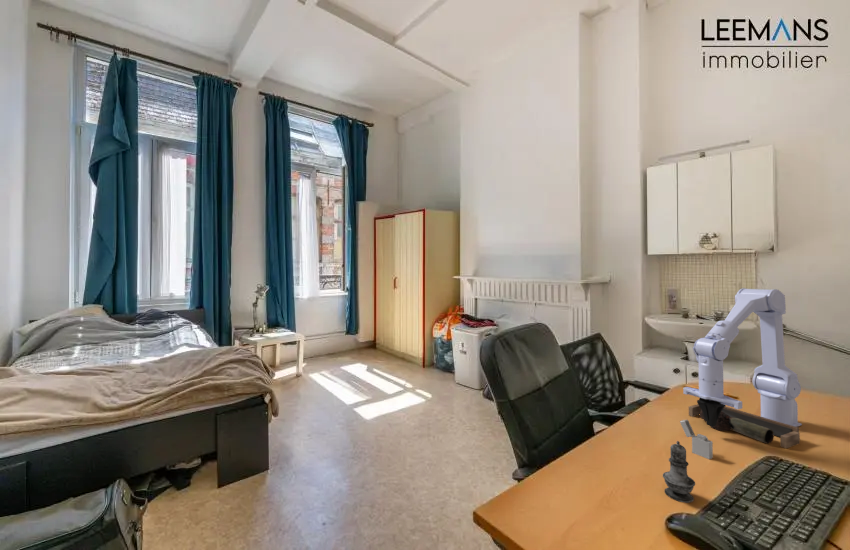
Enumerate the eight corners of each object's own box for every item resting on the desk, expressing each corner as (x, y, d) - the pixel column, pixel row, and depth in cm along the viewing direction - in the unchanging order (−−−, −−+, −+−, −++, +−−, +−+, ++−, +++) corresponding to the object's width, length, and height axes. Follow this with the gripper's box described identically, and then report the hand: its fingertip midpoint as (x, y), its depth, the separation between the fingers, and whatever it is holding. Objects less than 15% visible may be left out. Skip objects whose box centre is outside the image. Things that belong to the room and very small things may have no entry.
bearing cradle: (703, 411, 124) (703, 399, 124) (801, 442, 101) (801, 428, 101) (688, 415, 121) (688, 403, 121) (786, 448, 98) (786, 433, 98)
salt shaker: (656, 488, 81) (655, 435, 81) (680, 486, 82) (679, 434, 82) (676, 504, 76) (676, 448, 75) (702, 502, 76) (701, 446, 76)
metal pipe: (774, 442, 102) (774, 423, 102) (760, 447, 100) (760, 427, 99) (706, 419, 118) (706, 402, 118) (693, 422, 116) (692, 405, 116)
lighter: (713, 457, 94) (712, 427, 94) (709, 459, 93) (709, 428, 93) (683, 446, 100) (683, 417, 100) (679, 447, 99) (679, 419, 99)
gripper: (676, 374, 111) (677, 418, 111) (731, 388, 97) (732, 437, 98) (691, 371, 114) (691, 414, 114) (746, 384, 100) (747, 433, 100)
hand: (711, 425), depth 106 cm, fingers closed
